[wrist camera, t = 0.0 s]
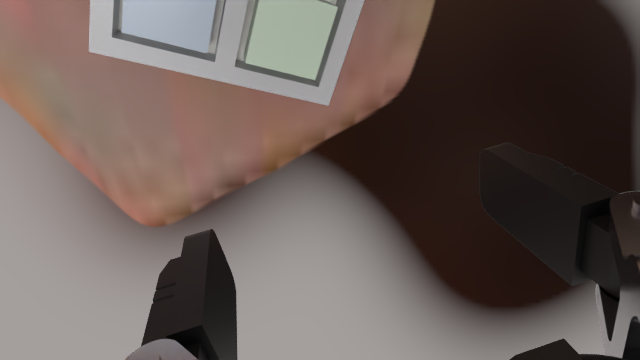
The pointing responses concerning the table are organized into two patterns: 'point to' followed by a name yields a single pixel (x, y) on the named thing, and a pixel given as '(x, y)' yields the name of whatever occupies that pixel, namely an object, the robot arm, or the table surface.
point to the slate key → (170, 21)
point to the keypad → (226, 49)
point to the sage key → (289, 35)
